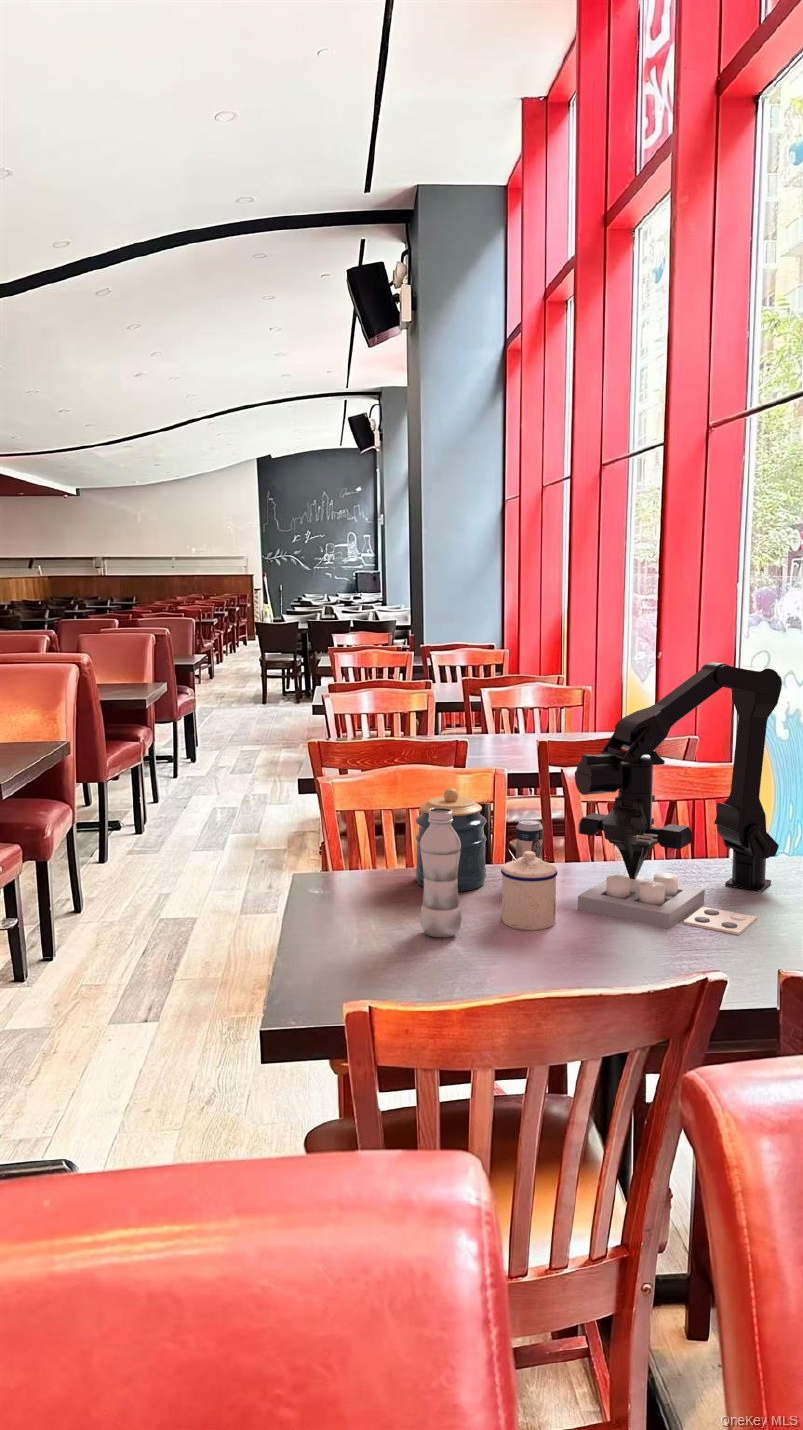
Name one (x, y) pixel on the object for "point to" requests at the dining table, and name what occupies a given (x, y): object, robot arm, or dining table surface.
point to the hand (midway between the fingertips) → (632, 878)
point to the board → (642, 905)
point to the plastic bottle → (440, 875)
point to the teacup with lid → (528, 893)
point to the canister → (469, 833)
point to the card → (720, 920)
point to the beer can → (529, 838)
